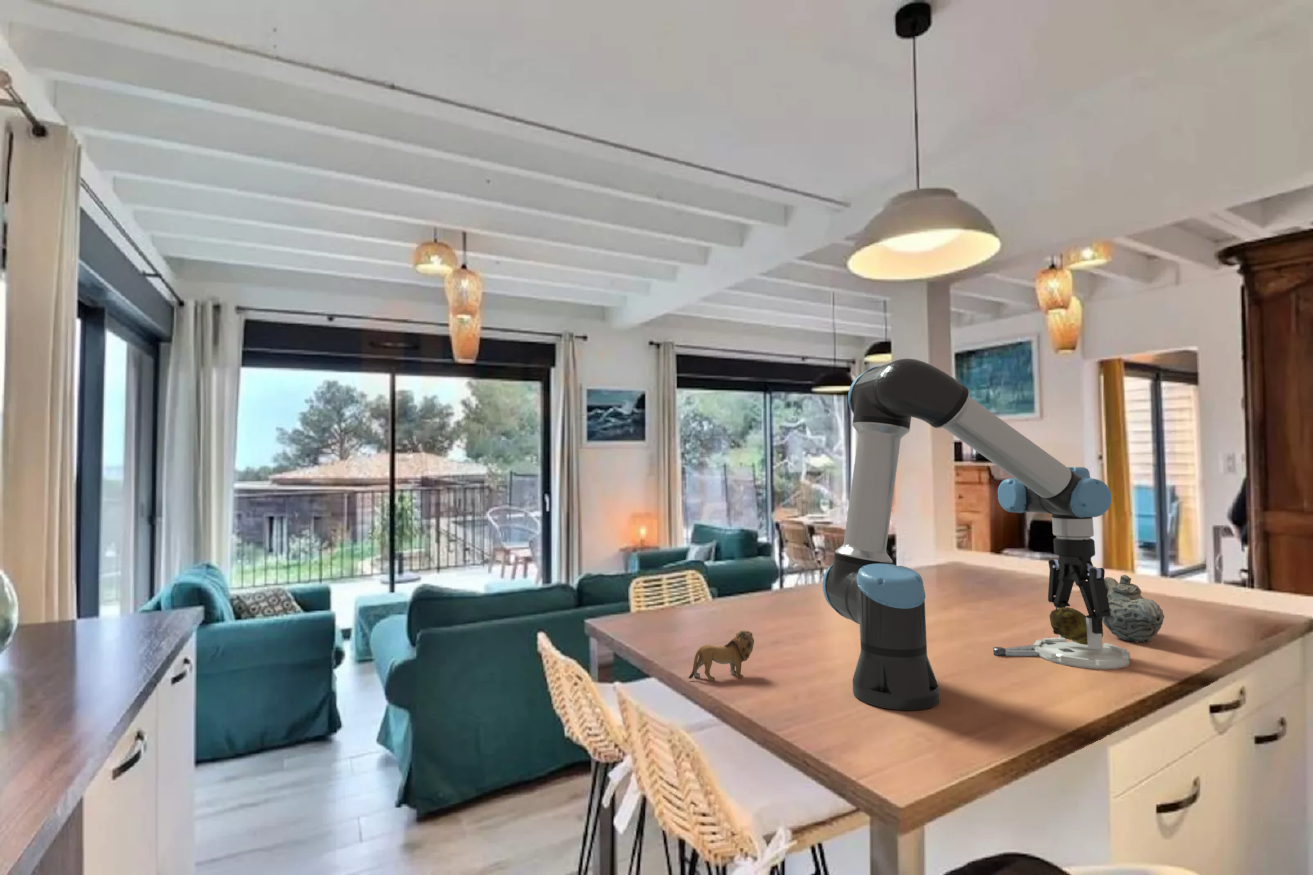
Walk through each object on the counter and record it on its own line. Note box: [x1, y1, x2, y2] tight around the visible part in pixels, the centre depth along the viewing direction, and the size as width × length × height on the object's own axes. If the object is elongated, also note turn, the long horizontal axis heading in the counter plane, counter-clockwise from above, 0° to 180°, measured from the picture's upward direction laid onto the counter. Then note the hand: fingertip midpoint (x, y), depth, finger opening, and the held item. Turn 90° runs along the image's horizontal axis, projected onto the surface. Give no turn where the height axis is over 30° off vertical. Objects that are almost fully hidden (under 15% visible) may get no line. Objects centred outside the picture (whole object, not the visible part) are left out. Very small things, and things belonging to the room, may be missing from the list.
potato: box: [1049, 606, 1104, 645], centre depth 137 cm, size 8×13×8 cm, turn 96°
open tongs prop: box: [992, 641, 1073, 657], centre depth 140 cm, size 16×9×1 cm, turn 94°
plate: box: [1032, 637, 1131, 670], centre depth 137 cm, size 17×17×2 cm
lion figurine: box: [688, 629, 755, 682], centre depth 130 cm, size 15×5×9 cm, turn 107°
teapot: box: [1102, 574, 1165, 643], centre depth 149 cm, size 21×12×15 cm, turn 171°
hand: (1079, 642), depth 137 cm, fingers closed on potato, 8 cm apart
